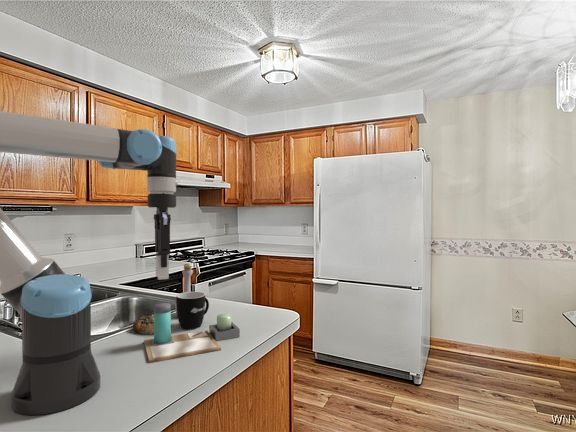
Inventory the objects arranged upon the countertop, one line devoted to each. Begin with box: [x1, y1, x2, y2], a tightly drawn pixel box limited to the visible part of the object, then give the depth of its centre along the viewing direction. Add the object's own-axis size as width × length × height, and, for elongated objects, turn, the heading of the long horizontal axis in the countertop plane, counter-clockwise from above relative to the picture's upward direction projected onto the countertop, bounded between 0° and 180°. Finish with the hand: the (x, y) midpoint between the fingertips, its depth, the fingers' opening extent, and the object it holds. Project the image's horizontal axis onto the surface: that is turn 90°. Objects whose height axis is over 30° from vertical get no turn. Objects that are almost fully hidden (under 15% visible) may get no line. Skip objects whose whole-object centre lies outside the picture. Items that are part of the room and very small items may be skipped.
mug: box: [175, 291, 210, 330], centre depth 115 cm, size 12×9×10 cm
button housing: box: [208, 321, 241, 342], centre depth 106 cm, size 7×7×2 cm
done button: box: [216, 313, 232, 331], centre depth 106 cm, size 4×4×4 cm
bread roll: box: [131, 313, 154, 335], centre depth 112 cm, size 11×11×5 cm
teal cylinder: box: [153, 302, 172, 344], centre depth 99 cm, size 4×4×10 cm
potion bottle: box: [174, 263, 194, 313], centre depth 126 cm, size 9×9×18 cm
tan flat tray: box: [143, 329, 222, 364], centre depth 98 cm, size 18×15×1 cm
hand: (162, 277), depth 99 cm, fingers open, 4 cm apart
